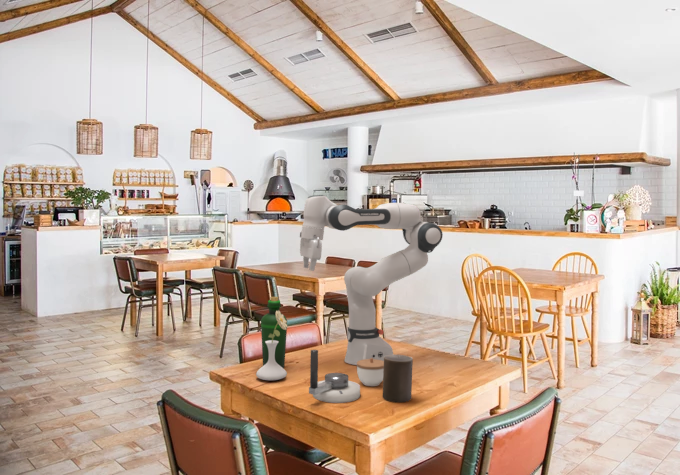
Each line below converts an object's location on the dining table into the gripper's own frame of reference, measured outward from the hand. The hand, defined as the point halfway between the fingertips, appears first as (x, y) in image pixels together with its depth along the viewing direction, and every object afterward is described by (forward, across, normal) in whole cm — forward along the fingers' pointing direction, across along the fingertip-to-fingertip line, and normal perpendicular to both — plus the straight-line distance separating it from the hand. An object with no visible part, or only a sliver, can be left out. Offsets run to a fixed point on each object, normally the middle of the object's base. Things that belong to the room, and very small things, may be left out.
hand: (308, 269), depth 232 cm
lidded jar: (+37, -30, -20) cm, 52 cm away
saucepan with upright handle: (+36, -42, 0) cm, 55 cm away
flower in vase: (+41, -14, +13) cm, 45 cm away
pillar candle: (+37, -47, -23) cm, 64 cm away
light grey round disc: (+39, -39, -4) cm, 55 cm away
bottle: (+40, 0, +10) cm, 42 cm away
